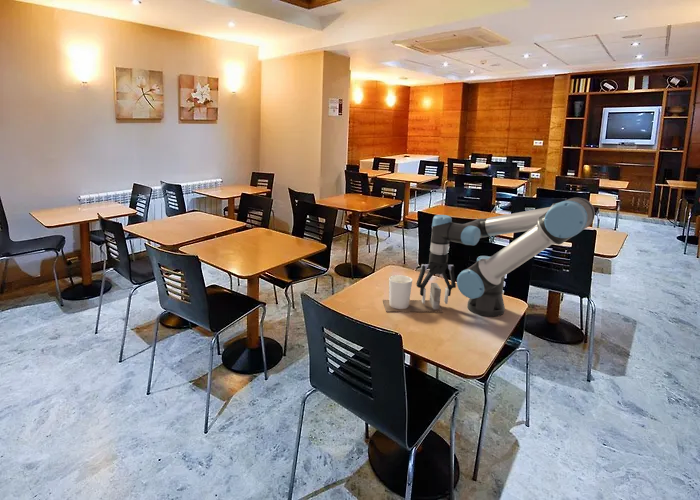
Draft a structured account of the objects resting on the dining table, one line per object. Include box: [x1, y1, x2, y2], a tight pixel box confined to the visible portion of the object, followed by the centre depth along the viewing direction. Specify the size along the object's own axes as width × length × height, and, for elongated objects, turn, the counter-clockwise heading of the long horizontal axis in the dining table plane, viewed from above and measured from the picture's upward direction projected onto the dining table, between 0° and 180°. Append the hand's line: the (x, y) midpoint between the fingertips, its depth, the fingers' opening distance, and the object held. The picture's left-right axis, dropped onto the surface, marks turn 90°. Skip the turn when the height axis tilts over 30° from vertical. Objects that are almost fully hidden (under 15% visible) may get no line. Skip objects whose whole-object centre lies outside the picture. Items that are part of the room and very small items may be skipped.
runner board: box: [382, 282, 444, 313], centre depth 188 cm, size 24×12×9 cm, turn 93°
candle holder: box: [388, 274, 413, 309], centre depth 188 cm, size 10×10×12 cm
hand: (434, 302), depth 190 cm, fingers open, 9 cm apart
